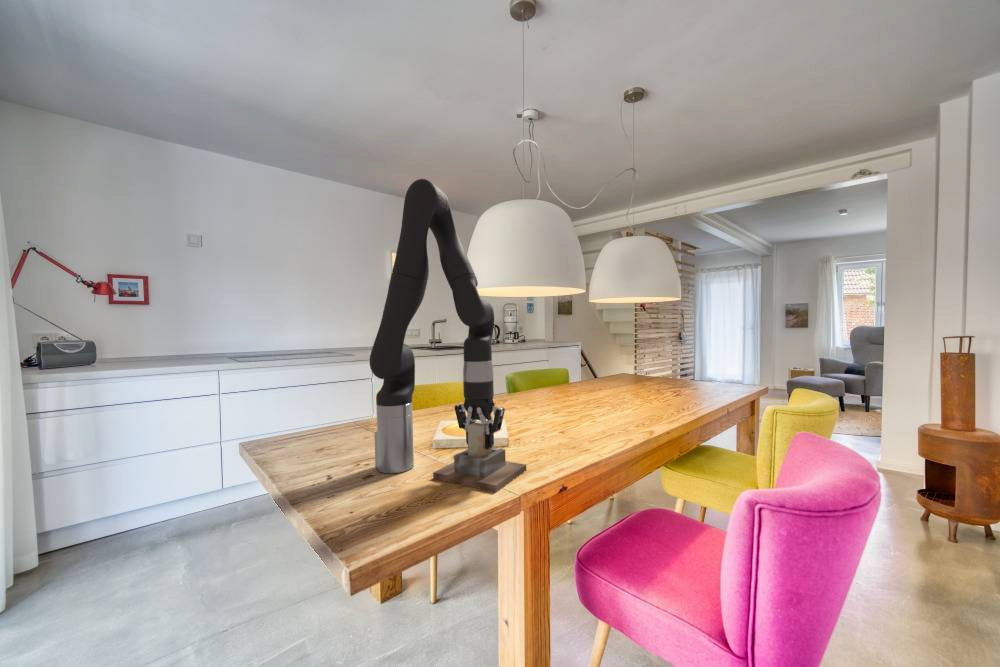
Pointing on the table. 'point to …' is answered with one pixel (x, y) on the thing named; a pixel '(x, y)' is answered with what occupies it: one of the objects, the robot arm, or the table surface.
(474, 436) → the box
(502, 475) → the socket
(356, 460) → the table surface
